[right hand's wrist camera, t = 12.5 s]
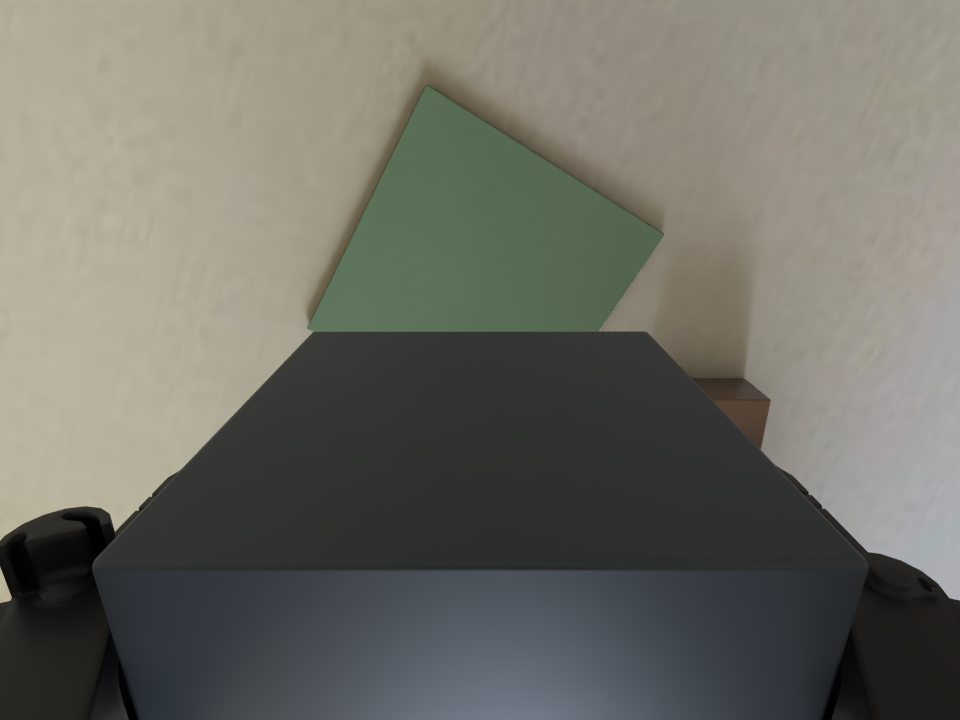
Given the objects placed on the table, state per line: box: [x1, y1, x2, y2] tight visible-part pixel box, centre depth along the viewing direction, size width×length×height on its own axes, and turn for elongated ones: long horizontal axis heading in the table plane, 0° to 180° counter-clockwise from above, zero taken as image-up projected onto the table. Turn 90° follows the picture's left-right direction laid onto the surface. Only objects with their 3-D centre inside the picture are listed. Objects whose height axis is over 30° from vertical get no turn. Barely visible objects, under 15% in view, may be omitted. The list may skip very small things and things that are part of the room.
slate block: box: [92, 332, 868, 720], centre depth 10 cm, size 5×8×8 cm, turn 90°
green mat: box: [307, 85, 664, 332], centre depth 29 cm, size 14×14×1 cm
